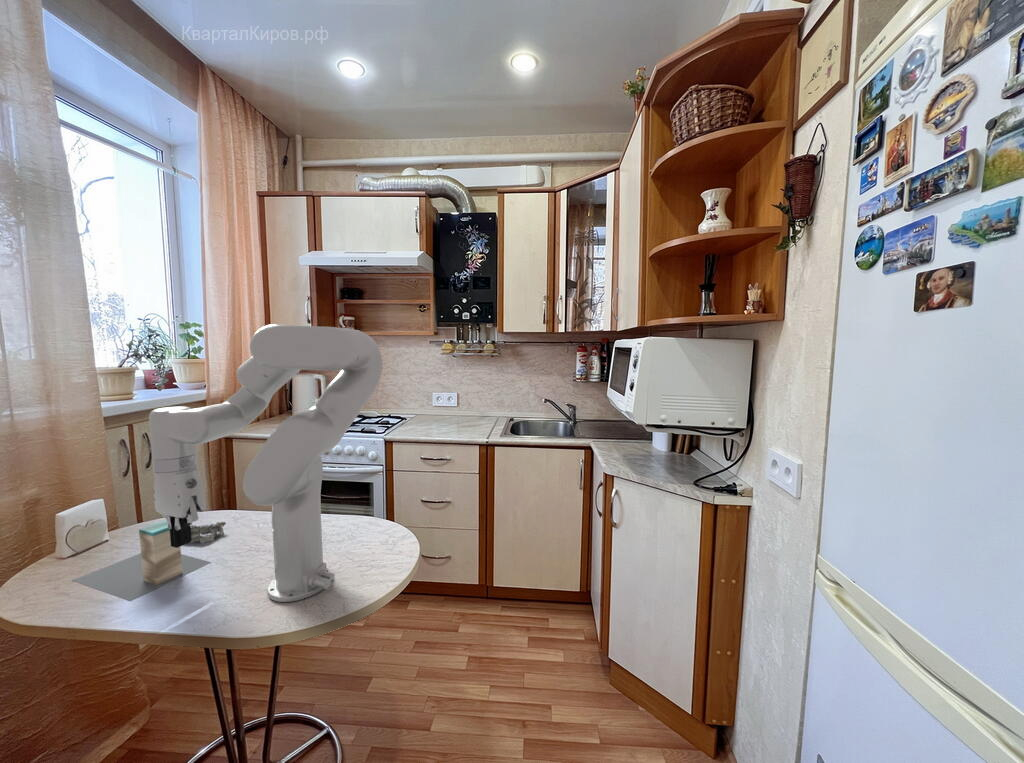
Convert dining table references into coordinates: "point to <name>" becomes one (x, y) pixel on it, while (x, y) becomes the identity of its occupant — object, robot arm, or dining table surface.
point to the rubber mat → (132, 577)
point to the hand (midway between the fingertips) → (181, 544)
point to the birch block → (159, 554)
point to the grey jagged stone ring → (213, 528)
